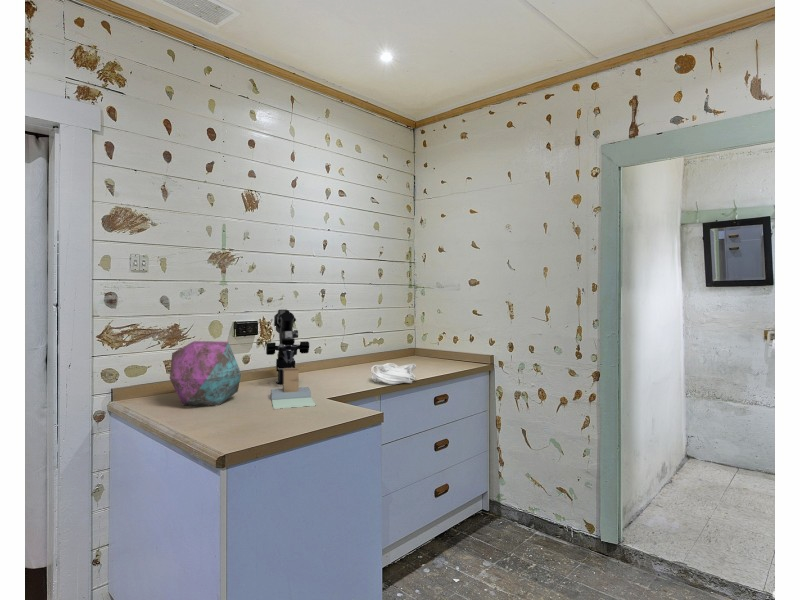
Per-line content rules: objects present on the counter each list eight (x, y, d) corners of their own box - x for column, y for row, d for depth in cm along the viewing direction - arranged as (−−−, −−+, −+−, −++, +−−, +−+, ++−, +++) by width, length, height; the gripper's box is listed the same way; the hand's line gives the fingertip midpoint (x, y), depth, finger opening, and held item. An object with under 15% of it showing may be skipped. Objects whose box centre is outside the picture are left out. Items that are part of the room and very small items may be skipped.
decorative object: (137, 399, 185) (174, 347, 209) (206, 436, 195) (233, 382, 219) (169, 360, 170) (205, 308, 194) (242, 402, 180) (267, 348, 204)
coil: (398, 376, 256) (397, 359, 256) (428, 382, 237) (427, 363, 237) (359, 382, 240) (358, 364, 240) (387, 389, 221) (387, 369, 221)
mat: (271, 401, 197) (271, 400, 197) (311, 398, 202) (311, 397, 202) (273, 409, 184) (273, 408, 184) (315, 406, 189) (315, 405, 189)
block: (282, 389, 205) (282, 368, 205) (297, 388, 207) (297, 367, 207) (283, 392, 200) (283, 370, 199) (298, 391, 201) (298, 370, 201)
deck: (270, 396, 206) (270, 389, 206) (308, 393, 211) (308, 386, 211) (271, 400, 198) (271, 393, 198) (310, 398, 203) (310, 391, 203)
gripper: (266, 324, 212) (267, 352, 202) (308, 323, 218) (312, 350, 208) (265, 340, 220) (266, 368, 210) (306, 339, 226) (309, 366, 215)
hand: (289, 363), depth 210 cm, fingers closed
